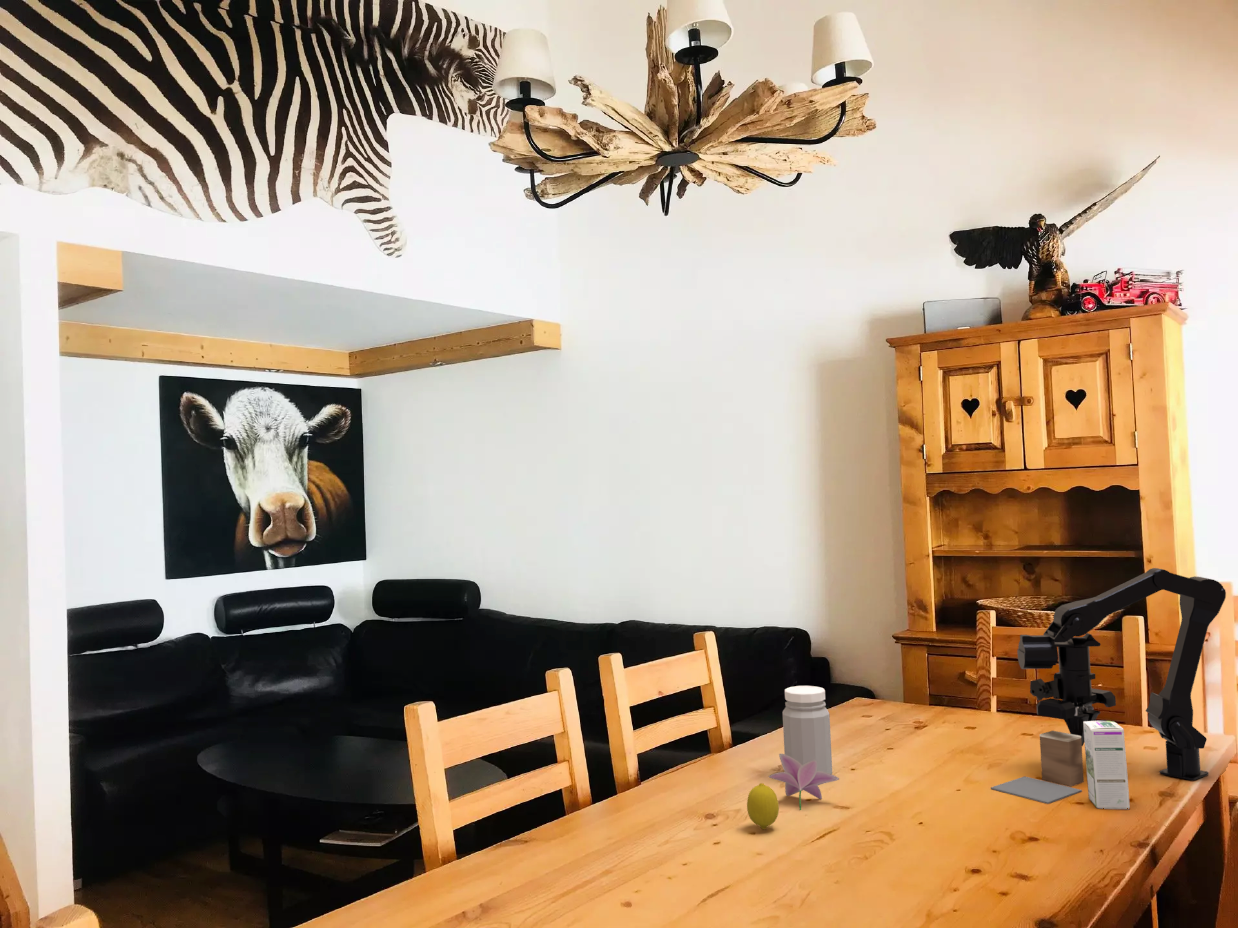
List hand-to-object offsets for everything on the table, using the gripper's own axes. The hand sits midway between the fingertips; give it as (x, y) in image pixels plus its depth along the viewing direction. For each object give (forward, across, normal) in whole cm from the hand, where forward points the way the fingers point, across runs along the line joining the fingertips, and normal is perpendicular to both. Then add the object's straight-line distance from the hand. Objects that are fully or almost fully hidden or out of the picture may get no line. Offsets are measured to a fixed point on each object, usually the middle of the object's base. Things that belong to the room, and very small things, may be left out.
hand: (1078, 746), depth 193 cm
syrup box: (+6, +13, +13) cm, 19 cm away
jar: (+6, +41, -35) cm, 54 cm away
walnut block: (+6, +6, 0) cm, 8 cm away
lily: (+6, +54, -23) cm, 59 cm away
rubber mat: (+6, +15, 0) cm, 16 cm away
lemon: (+6, +69, -18) cm, 71 cm away
